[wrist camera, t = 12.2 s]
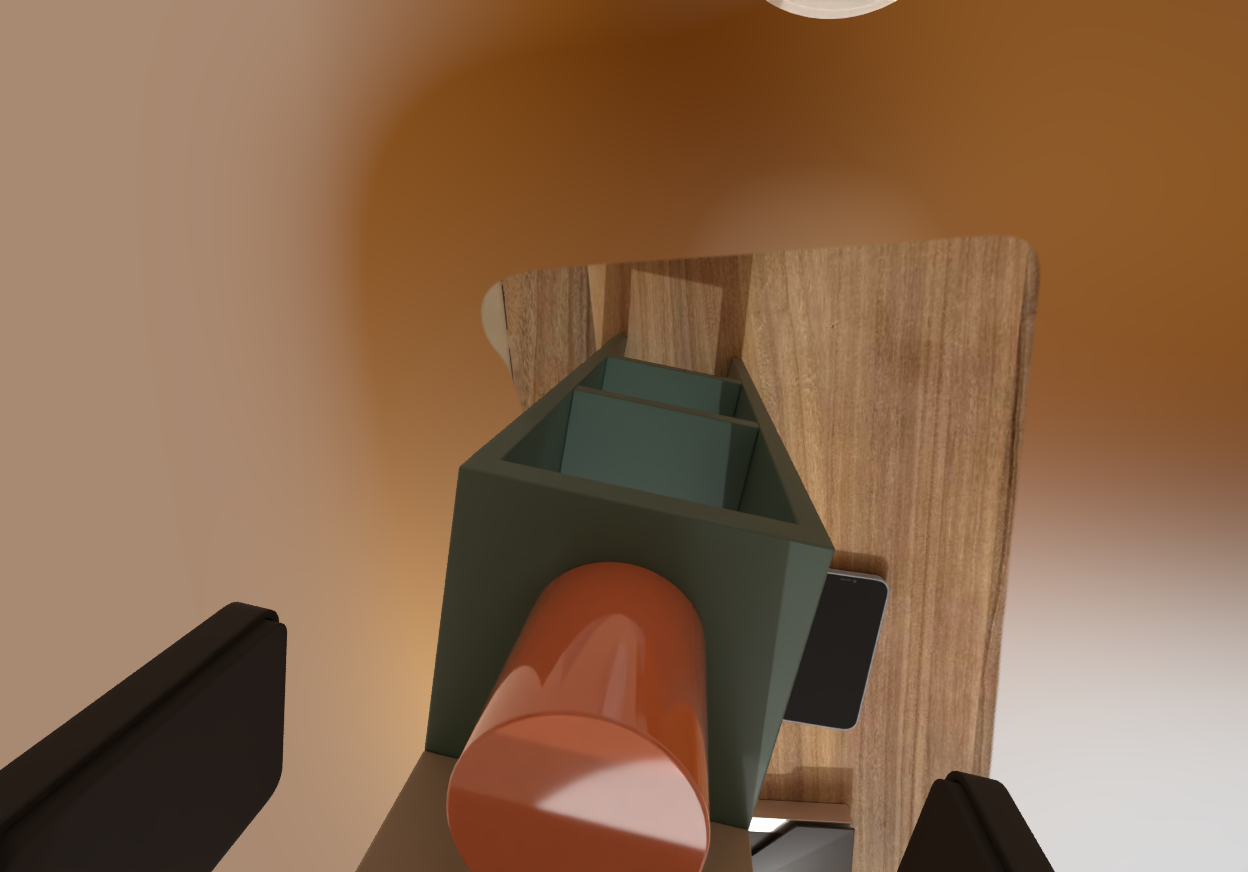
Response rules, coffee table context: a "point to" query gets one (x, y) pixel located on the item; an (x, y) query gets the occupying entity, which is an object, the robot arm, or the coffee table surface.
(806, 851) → the picture frame
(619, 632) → the canister
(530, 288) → the coffee table surface
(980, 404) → the coffee table surface
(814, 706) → the smartphone
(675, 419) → the shelf
